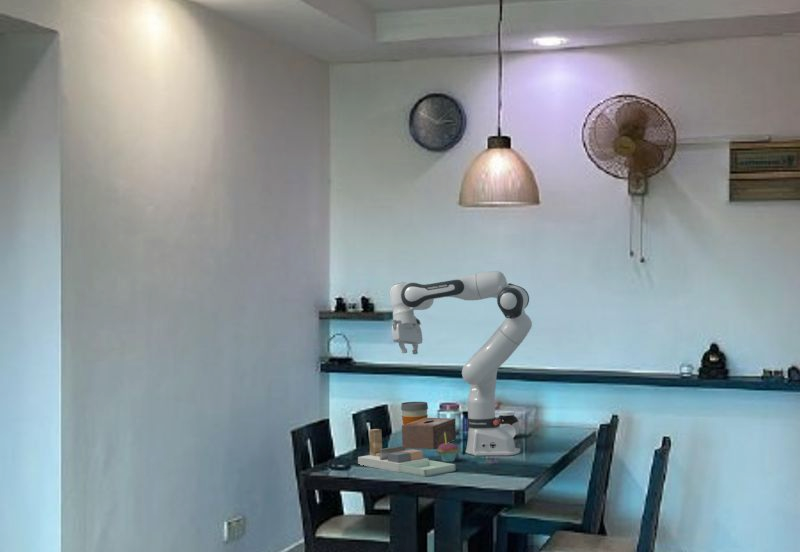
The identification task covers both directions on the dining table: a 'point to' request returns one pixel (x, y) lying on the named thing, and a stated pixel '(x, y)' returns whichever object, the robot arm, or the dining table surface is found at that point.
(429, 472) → the tray
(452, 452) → the cupcake
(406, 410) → the reusable coffee cup
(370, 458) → the slab
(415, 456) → the terracotta tile
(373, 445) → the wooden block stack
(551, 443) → the dining table surface
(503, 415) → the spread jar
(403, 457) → the charcoal tile
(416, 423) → the tissue box cover
